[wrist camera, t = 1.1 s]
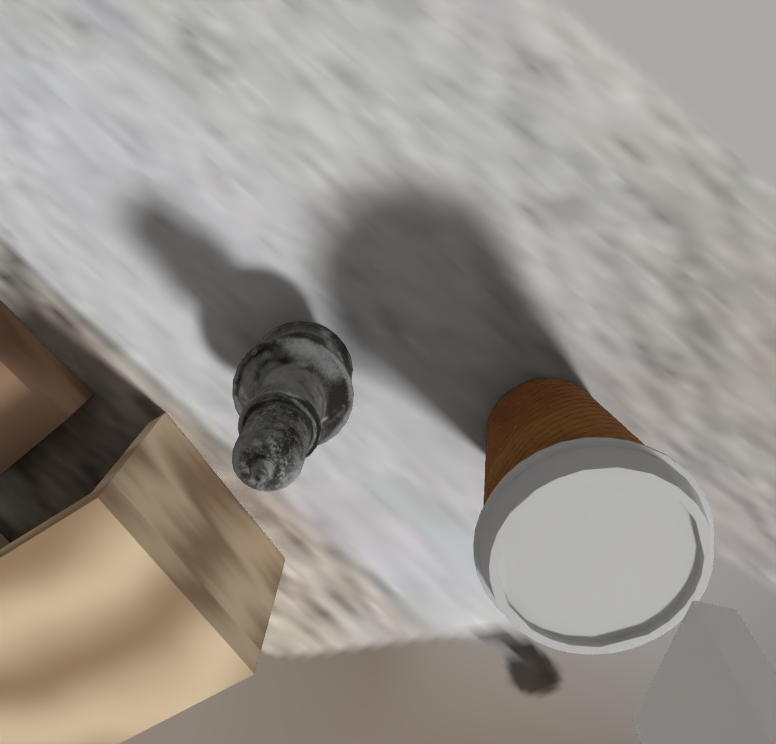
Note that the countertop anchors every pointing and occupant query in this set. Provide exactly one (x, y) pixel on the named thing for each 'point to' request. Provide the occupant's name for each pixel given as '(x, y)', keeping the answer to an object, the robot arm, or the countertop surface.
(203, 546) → the oak bridge
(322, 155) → the countertop surface
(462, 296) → the countertop surface
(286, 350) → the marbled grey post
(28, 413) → the dark brown block
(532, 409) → the disposable coffee cup
